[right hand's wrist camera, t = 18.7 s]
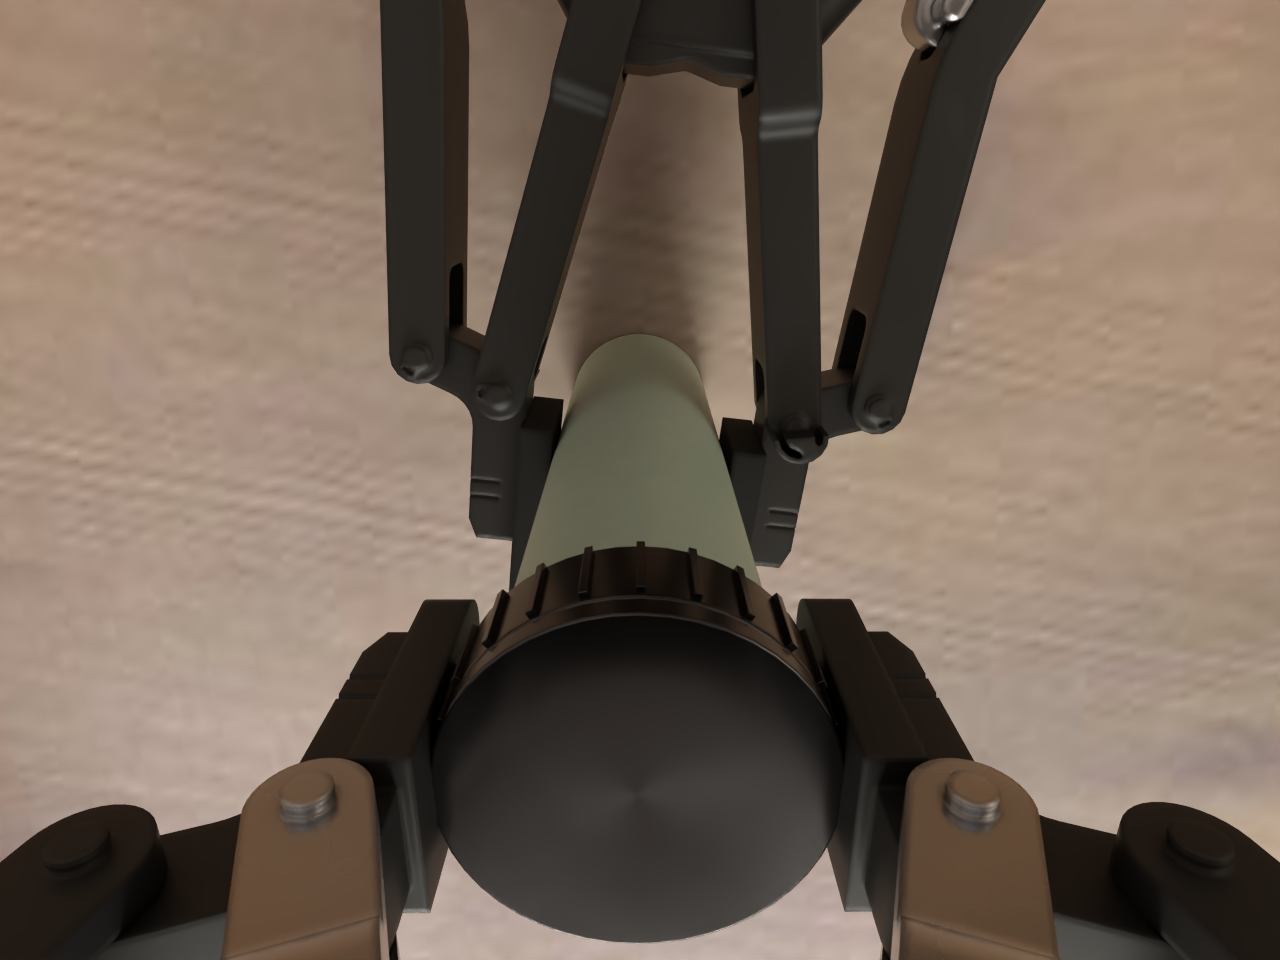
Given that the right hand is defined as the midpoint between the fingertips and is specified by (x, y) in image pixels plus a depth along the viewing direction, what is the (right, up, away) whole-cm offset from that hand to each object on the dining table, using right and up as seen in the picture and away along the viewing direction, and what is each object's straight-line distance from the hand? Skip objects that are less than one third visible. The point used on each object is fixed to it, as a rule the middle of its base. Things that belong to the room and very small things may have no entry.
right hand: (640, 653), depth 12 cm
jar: (0, +5, +13) cm, 14 cm away
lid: (0, -1, -2) cm, 3 cm away
